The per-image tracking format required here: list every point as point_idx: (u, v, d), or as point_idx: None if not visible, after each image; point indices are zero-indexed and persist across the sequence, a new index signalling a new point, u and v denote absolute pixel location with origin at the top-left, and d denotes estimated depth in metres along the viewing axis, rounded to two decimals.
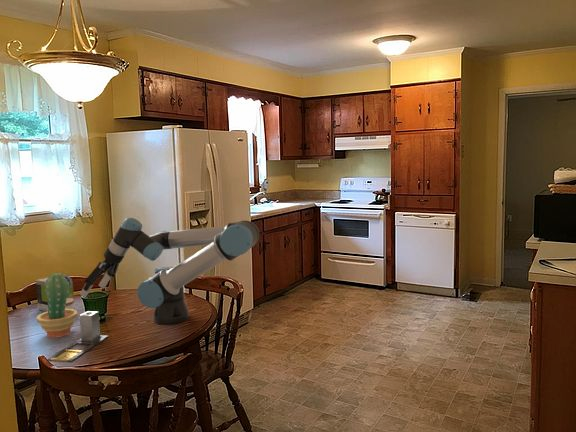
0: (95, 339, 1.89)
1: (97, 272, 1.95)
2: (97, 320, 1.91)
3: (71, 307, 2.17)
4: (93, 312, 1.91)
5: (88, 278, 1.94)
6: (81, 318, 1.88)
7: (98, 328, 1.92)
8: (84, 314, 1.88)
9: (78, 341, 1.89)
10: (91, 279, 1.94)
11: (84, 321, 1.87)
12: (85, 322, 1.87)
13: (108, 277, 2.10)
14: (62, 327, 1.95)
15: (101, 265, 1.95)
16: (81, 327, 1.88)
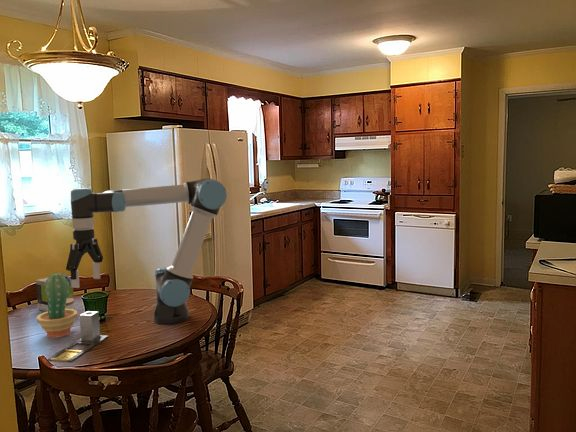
0: (95, 339, 1.89)
1: (73, 254, 1.79)
2: (97, 320, 1.91)
3: (71, 307, 2.17)
4: (93, 312, 1.91)
5: (68, 264, 1.78)
6: (81, 318, 1.88)
7: (98, 328, 1.92)
8: (84, 314, 1.88)
9: (78, 341, 1.89)
10: (71, 263, 1.78)
11: (84, 321, 1.87)
12: (85, 322, 1.87)
13: (97, 264, 1.94)
14: (62, 327, 1.95)
15: (73, 245, 1.80)
16: (81, 327, 1.88)
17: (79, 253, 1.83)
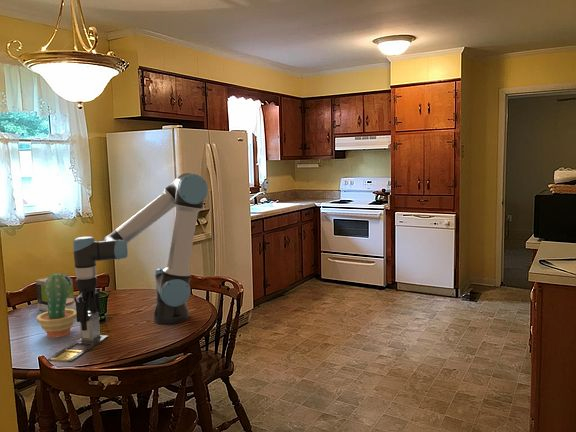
0: (95, 339, 1.89)
1: (80, 307, 1.83)
2: (97, 320, 1.91)
3: (71, 307, 2.17)
4: (93, 312, 1.91)
5: (78, 317, 1.84)
6: None
7: (98, 328, 1.92)
8: None
9: (78, 341, 1.89)
10: (80, 316, 1.83)
11: None
12: None
13: None
14: (62, 327, 1.95)
15: (77, 299, 1.82)
16: (81, 327, 1.88)
17: (85, 303, 1.86)
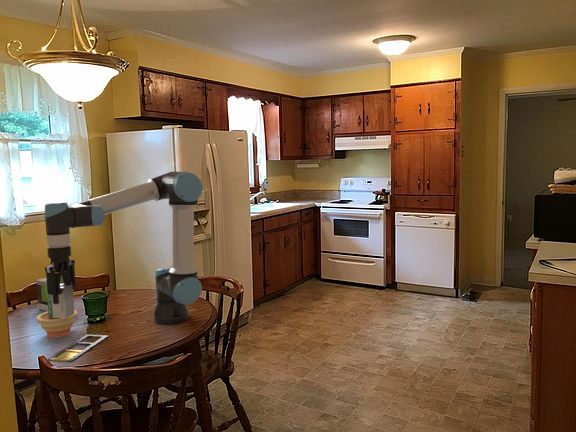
0: (68, 314, 1.73)
1: (51, 278, 1.67)
2: (71, 293, 1.75)
3: None
4: (66, 285, 1.75)
5: (48, 289, 1.68)
6: None
7: (72, 302, 1.76)
8: None
9: (78, 341, 1.89)
10: (51, 288, 1.67)
11: None
12: None
13: None
14: (62, 327, 1.95)
15: (48, 269, 1.66)
16: None
17: (57, 274, 1.70)
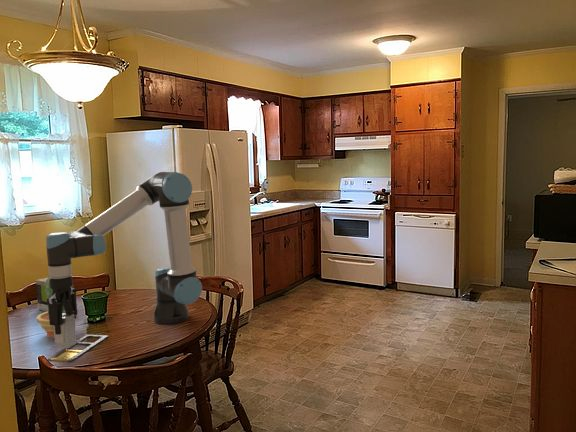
0: (70, 344, 1.74)
1: (53, 309, 1.68)
2: (72, 323, 1.76)
3: None
4: (68, 314, 1.75)
5: (50, 320, 1.68)
6: None
7: (74, 332, 1.76)
8: None
9: (78, 341, 1.89)
10: (53, 319, 1.68)
11: None
12: None
13: None
14: None
15: (50, 301, 1.67)
16: None
17: (59, 305, 1.71)
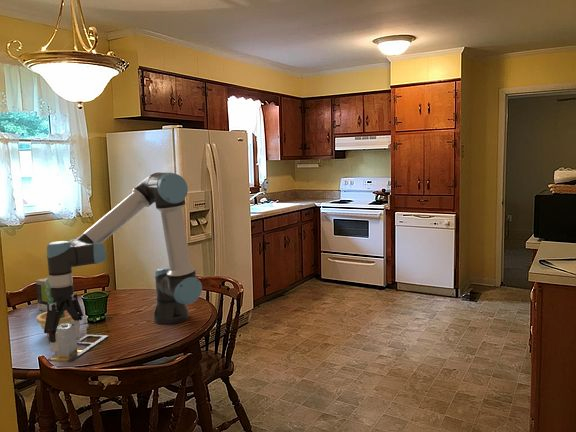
0: (71, 354, 1.75)
1: (51, 315, 1.67)
2: (74, 333, 1.76)
3: None
4: (69, 325, 1.76)
5: (46, 327, 1.66)
6: (56, 331, 1.73)
7: (75, 342, 1.77)
8: (59, 327, 1.74)
9: (78, 341, 1.89)
10: (49, 326, 1.66)
11: (59, 335, 1.73)
12: (60, 335, 1.73)
13: (76, 322, 1.80)
14: None
15: (50, 306, 1.67)
16: None
17: (57, 313, 1.70)
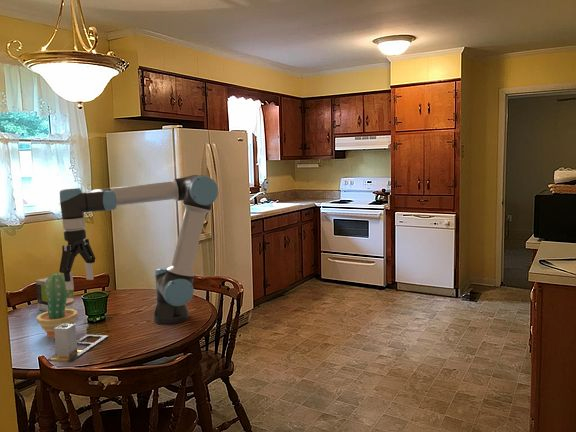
0: (71, 354, 1.75)
1: (66, 255, 1.75)
2: (74, 333, 1.76)
3: (71, 307, 2.17)
4: (69, 325, 1.76)
5: (61, 266, 1.74)
6: (56, 331, 1.73)
7: (75, 342, 1.77)
8: (59, 327, 1.74)
9: (78, 341, 1.89)
10: (64, 265, 1.74)
11: (59, 335, 1.73)
12: (60, 335, 1.73)
13: (89, 265, 1.90)
14: None
15: (65, 247, 1.76)
16: (56, 341, 1.73)
17: (71, 254, 1.79)
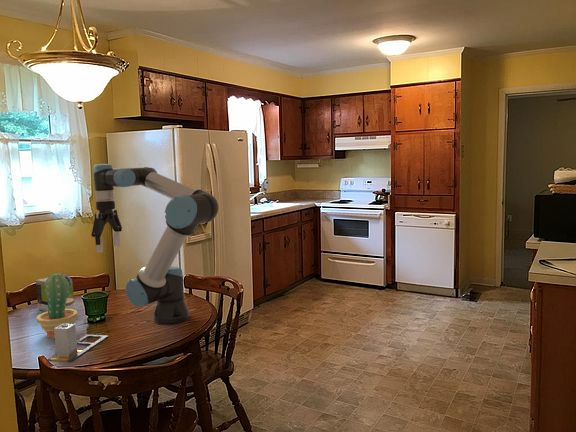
0: (71, 354, 1.75)
1: (97, 222, 2.01)
2: (74, 333, 1.76)
3: (71, 307, 2.17)
4: (69, 325, 1.76)
5: (93, 231, 2.00)
6: (56, 331, 1.73)
7: (75, 342, 1.77)
8: (59, 327, 1.74)
9: (78, 341, 1.89)
10: (96, 230, 2.00)
11: (59, 335, 1.73)
12: (60, 335, 1.73)
13: (116, 233, 2.16)
14: None
15: (97, 214, 2.02)
16: (56, 341, 1.73)
17: (102, 222, 2.05)
